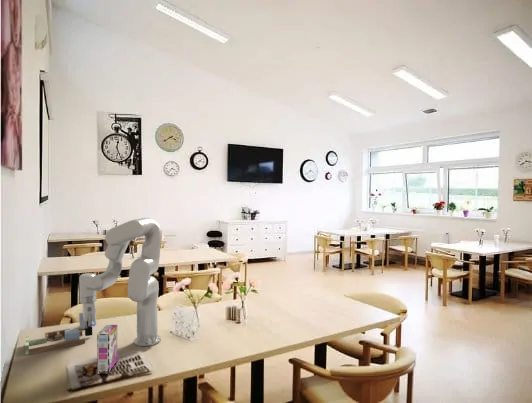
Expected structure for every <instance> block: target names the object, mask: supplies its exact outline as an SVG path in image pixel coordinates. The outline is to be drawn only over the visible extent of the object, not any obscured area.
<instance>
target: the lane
mask: <svg viewBox="0 0 532 403" xmlns="http://www.w3.org/2000/svg"><path fill="white" fill-rule="evenodd" d="M70 329H71V328H64V329H60V330H55V331H48V332H45V333H44V337H40V338H35V339H30V337H29V336H25V356H27V355H32V354H39V353H43V352H48V351H52V350H54V351H55V350H58V349H63V348H68V347H73V346H77V345H78V346H79V345H82V344H86V338H80V339H78V340H73V341H68V342H65V341H63V342H59V343H53V344H48V345H42V346H37V347H33V348H30V346H33V345H39V344H44V343H45V344H46V343H48V342H50V341H61V340H63V339H65V330H70ZM79 333H80V337H83V331H82V330H79Z"/></svg>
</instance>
